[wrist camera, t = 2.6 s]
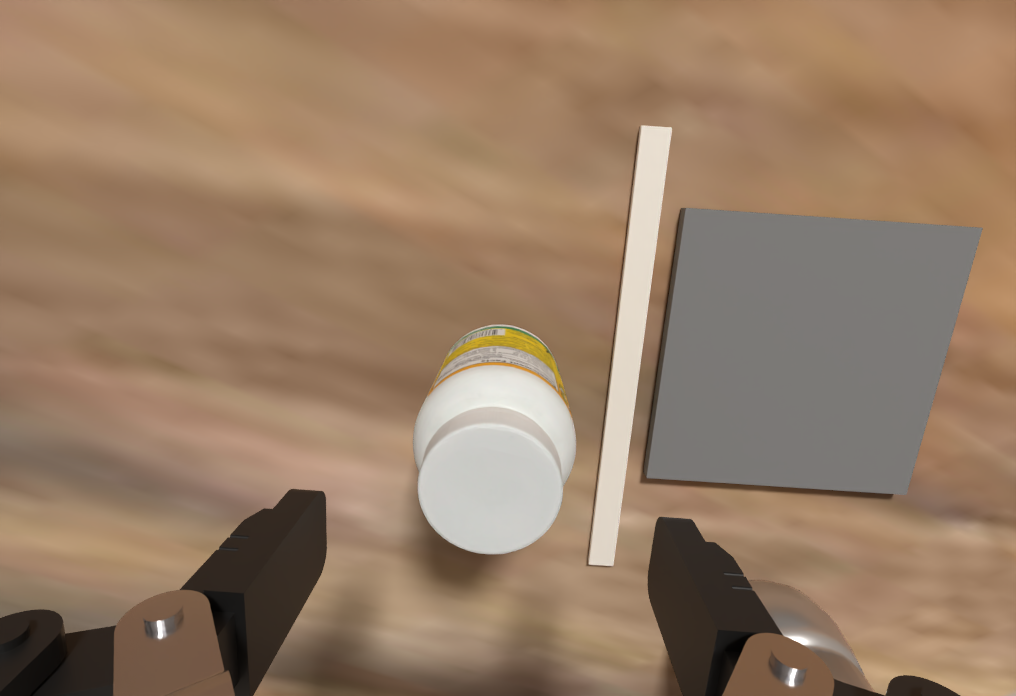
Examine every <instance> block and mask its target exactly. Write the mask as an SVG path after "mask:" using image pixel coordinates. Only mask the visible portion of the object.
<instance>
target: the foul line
mask: <svg viewBox="0 0 1016 696" xmlns="http://www.w3.org/2000/svg"><path fill="white" fill-rule="evenodd" d="M671 132H672V128H671V127H656V126H640V130H639V138H638V146H637V155H636V163H635V171H634V180H633V188H632V196H631V205H630V213H629V222H628V230H627V238H626V247H625V255H624V263H623V272H622V280H621V288H620V297H619V305H618V314H617V322H616V330H615V339H614V347H613V355H612V364H611V372H610V380H609V389H608V397H607V406H606V414H605V422H604V431H603V439H602V447H601V456H600V464H599V472H598V481H597V489H596V497H595V506H594V514H593V523H592V531H591V539H590V548H589V556H588V563H589V565H604V566H613V564H614V557H615V549H616V542H617V534H618V527H619V520H620V512H621V505H622V497H623V490H624V482H625V475H626V467H627V460H628V452H629V445H630V438H631V430H632V423H633V415H634V408H635V400H636V393H637V385H638V378H639V370H640V363H641V356H642V348H643V341H644V333H645V326H646V318H647V311H648V303H649V296H650V288H651V281H652V274H653V266H654V259H655V251H656V244H657V236H658V229H659V221H660V214H661V206H662V199H663V192H664V184H665V177H666V169H667V162H668V154H669V147H670V139H671Z"/></svg>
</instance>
